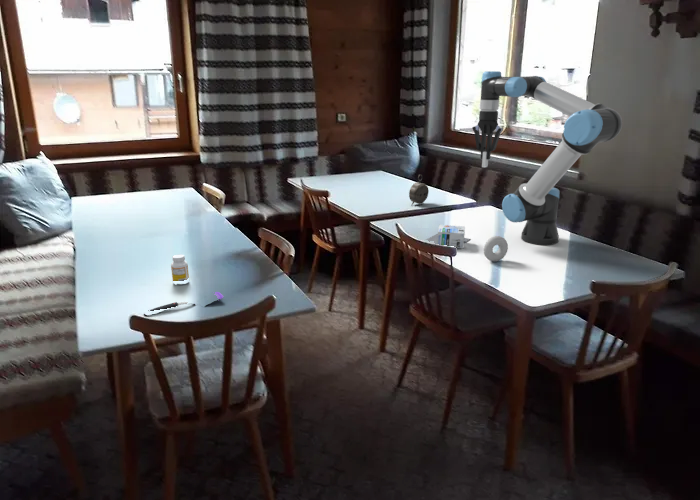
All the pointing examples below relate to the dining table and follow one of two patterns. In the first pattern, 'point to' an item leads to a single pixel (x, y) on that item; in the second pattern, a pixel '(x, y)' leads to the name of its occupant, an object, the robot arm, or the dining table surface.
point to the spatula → (183, 303)
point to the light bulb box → (451, 235)
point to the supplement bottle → (179, 268)
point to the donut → (501, 251)
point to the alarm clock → (418, 192)
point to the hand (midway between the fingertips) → (484, 166)
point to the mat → (435, 237)
